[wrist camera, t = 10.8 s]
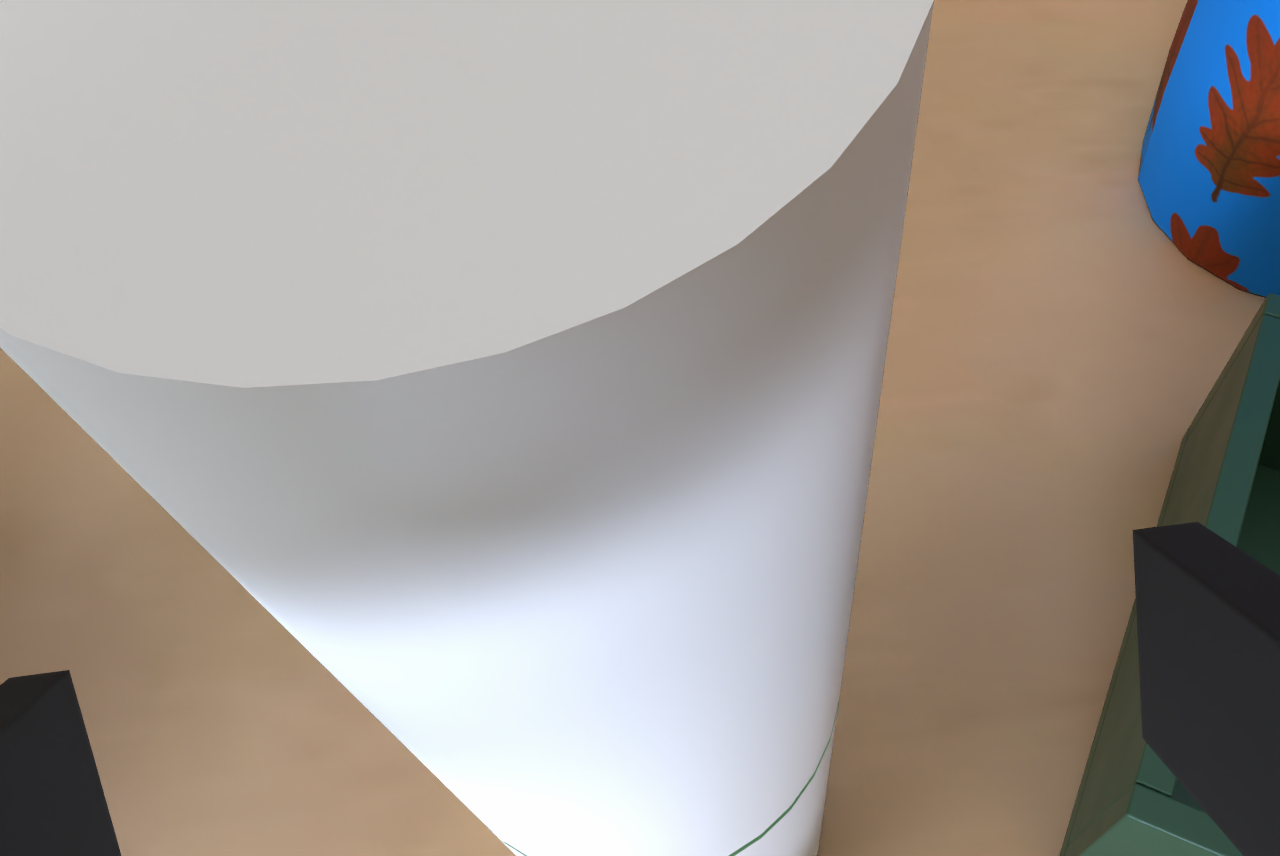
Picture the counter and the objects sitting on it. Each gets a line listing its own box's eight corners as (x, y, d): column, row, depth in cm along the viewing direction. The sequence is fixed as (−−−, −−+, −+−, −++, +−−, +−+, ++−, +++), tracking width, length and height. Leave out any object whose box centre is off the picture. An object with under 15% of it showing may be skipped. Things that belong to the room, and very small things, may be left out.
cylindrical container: (766, 641, 31) (733, -409, 10) (864, 910, 27) (1165, 158, 6) (515, 720, 30) (-96, -196, 9) (579, 1004, 27) (-208, 560, 5)
